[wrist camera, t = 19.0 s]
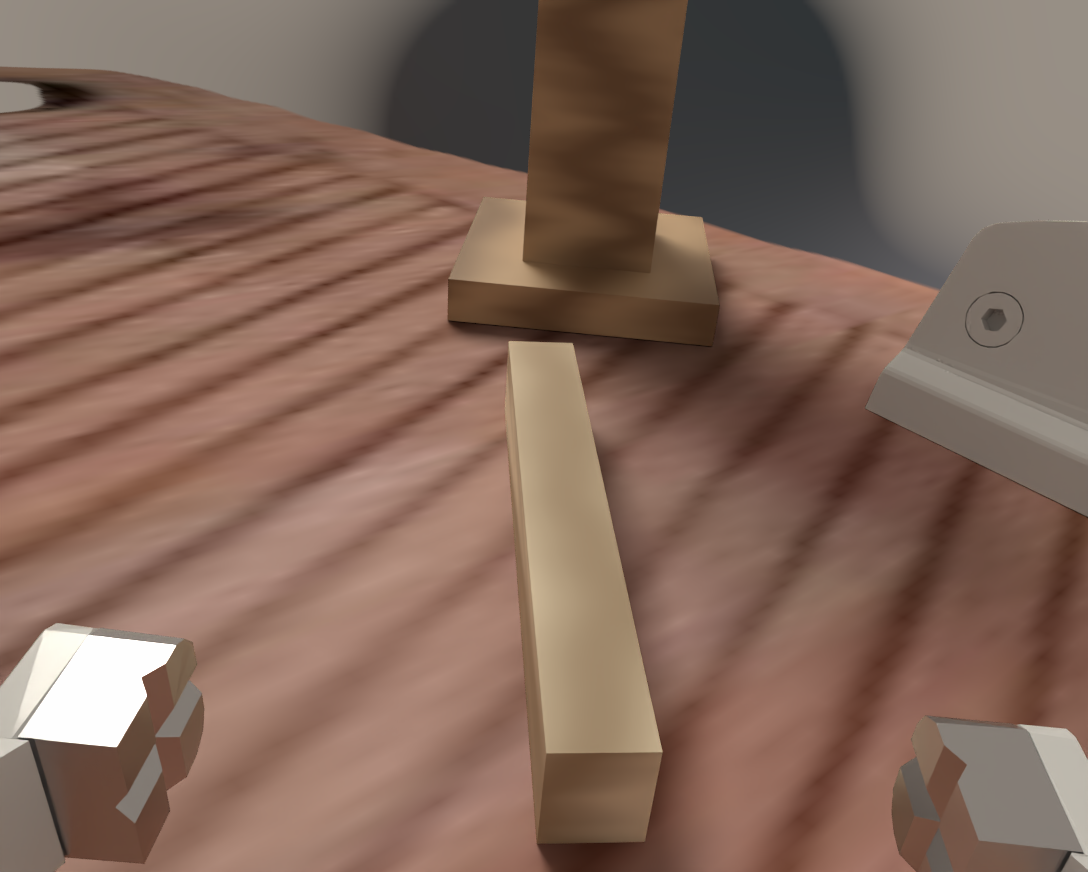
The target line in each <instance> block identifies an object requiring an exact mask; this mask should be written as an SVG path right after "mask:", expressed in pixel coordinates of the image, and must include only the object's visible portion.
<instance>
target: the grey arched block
mask: <svg viewBox="0 0 1088 872" xmlns="http://www.w3.org/2000/svg"><path fill="white" fill-rule="evenodd" d="M865 409H867V410H869V411H871V412H873V413H875V414H878V415H880V416H882V417H884V418H886V419H888V420H890V421H892V422H894V423H896V424H898V425H900V426H902V427H904V428H906V429H908V430H910V431H912V432H914V433H916V434H919V435H921V436H923V437H925V438H927V439H929V440H931V441H933V442H935V443H937V444H939V445H941V446H943V447H945V448H947V449H949V450H951V451H953V452H955V453H958V454H960V455H962V456H964V457H966V458H968V459H970V460H972V461H974V462H976V463H978V464H980V465H982V466H984V467H986V468H988V469H990V470H992V471H994V472H996V473H999V474H1001V475H1003V476H1005V477H1007V478H1009V479H1011V480H1013V481H1015V482H1017V483H1019V484H1021V485H1023V486H1025V487H1027V488H1029V489H1031V490H1033V491H1035V492H1037V493H1040V494H1042V495H1044V496H1046V497H1048V498H1050V499H1052V500H1054V501H1056V502H1058V503H1060V504H1062V505H1064V506H1066V507H1068V508H1070V509H1072V510H1074V511H1076V512H1079V513H1081V514H1083V515H1085V516H1087V517H1088V221H1053V220H1048V221H1023V222H1003V223H996V224H992V225H990V226H988V227H985V228H984V229H982V230H981V231H980V232H979V233H978V234H976V235H975V236H974V238H973V239H972V241H971V242H970V244H969V245H968V247H967V249H966V250H965V252H964V253H963V255H962V257H961V258H960V260H959V261H958V263H957V265H956V266H955V268H954V269H953V271H952V272H951V274H950V276H949V277H948V279H947V280H946V282H945V284H944V285H943V287H942V288H941V290H940V292H939V293H938V295H937V296H936V298H935V299H934V301H933V303H932V304H931V306H930V307H929V309H928V311H927V312H926V314H925V315H924V317H923V319H922V320H921V322H920V323H919V325H918V327H917V328H916V330H915V331H914V333H913V334H912V336H911V338H910V339H909V341H908V342H907V344H906V346H905V347H904V348H903V350H902V351H901V352H900V353H899V354H898V355H897V356H896V357H895V358H894V359H893V360H892V361H891V362H890V363H889V364H888V365H887V366H886V367H885V368H884V370H883V371H882V373H881V374H880V376H879V378H878V381H877V383H876V385H875V387H874V389H873V391H872V394H871V396H870V398H869V400H868V402H867V405H866V407H865Z"/></svg>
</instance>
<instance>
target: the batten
mask: <svg viewBox="0 0 1088 872" xmlns="http://www.w3.org/2000/svg"><path fill="white" fill-rule="evenodd" d="M505 419H506V433H507V447H508V460H509V474H510V487H511V501H512V514H513V528H514V542H515V555H516V569H517V582H518V596H519V609H520V623H521V637H522V650H523V664H524V677H525V691H526V704H527V718H528V732H529V745H530V759H531V772H532V786H533V799H534V813H535V827H536V840H537V844H557V843H611V842H645V839H646V833H647V828H648V823H649V818H650V813H651V808H652V803H653V798H654V793H655V788H656V783H657V778H658V773H659V768H660V763H661V758H662V753H663V752H662V747H661V743H660V738H659V734H658V729H657V724H656V720H655V715H654V711H653V706H652V702H651V697H650V693H649V688H648V683H647V679H646V674H645V670H644V665H643V661H642V656H641V652H640V647H639V642H638V638H637V633H636V629H635V624H634V620H633V615H632V611H631V606H630V602H629V597H628V592H627V588H626V583H625V579H624V574H623V570H622V565H621V561H620V556H619V551H618V547H617V542H616V538H615V533H614V529H613V524H612V520H611V515H610V510H609V506H608V501H607V497H606V492H605V488H604V483H603V479H602V474H601V469H600V465H599V460H598V456H597V451H596V447H595V442H594V438H593V433H592V428H591V424H590V419H589V415H588V410H587V406H586V401H585V397H584V392H583V388H582V383H581V378H580V374H579V369H578V365H577V360H576V356H575V351H574V347H573V343H553V342H522V341H509V342H508V360H507V378H506V395H505Z"/></svg>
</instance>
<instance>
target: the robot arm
mask: <svg viewBox="0 0 1088 872" xmlns="http://www.w3.org/2000/svg"><path fill="white" fill-rule="evenodd" d="M196 665H197V661H196V656H195V652H194V647H193V643H192V642H190V641H188V640H186V639H182V638H174V637H167V636H159V635H151V634H143V633H136V632H128V631H120V630H113V629H105V628H99V629H98V628H90V627H83V626H75V625H68V624H60V623H56V624H54V625H53V626H51V627H49V628H47V629H46V630H44V631H43V632H42V633H41V634H40V636H39V637H38V638H37V640H36V641H35V642H34V643H33V645H32V646H31V647H30V649H29V650H28V651H27V653H26V654H25V655H24V656H23V658H22V659H21V660H20V662H19V663H18V664H17V666H16V667H15V668H14V669H13V671H12V672H11V673H10V675H9V676H8V677H7V679H6V680H5V681H4V682H3V684H2V685H1V686H0V872H54V871H55V870H57V869H58V868H59V867H60V866H61V865H63V864H64V863H65V857H67V858H79V859H91V860H103V861H115V862H127V863H139V864H144V863H145V861H146V859H147V857H148V855H149V853H150V851H151V849H152V847H153V845H154V843H155V841H156V839H157V837H158V835H159V833H160V831H161V829H162V827H163V825H164V823H165V820H166V818H167V816H168V814H169V812H170V807H169V802H168V797H167V790H168V789H170V788H171V787H173V786H174V785H176V784H177V783H178V782H180V781H181V780H183V779H184V778H186V777H187V775H188V773H189V771H190V768H191V766H192V764H193V762H194V760H195V757H196V755H197V752H198V748H199V744H200V740H201V736H202V732H203V725H204V704H203V698H202V693H201V692H200V691H199V690H198V689H197V688H196V687H195V686H194V685H193V684H192V683H191V682H190V681H189V679H190V677H191V675H192V673H193V671H194V669H195V667H196ZM911 741H912V744H913V747H914V751H915V754H916V757H915V758H914V759H912V760H911V761H909V762H908V763H906V764H904V765H903V766H901V767H900V770H899V773H898V776H897V779H896V782H895V785H894V788H893V799H892V821H893V830H894V835H895V839H896V843H897V847H898V851H899V854H900V855H901V856H902V857H903V859H904V860H905V861H906V862H907V863H908V864H909V865H910V866H911V867H912V868H913V869H914V870H915V871H916V872H1088V760H1087V758H1086V756H1085V754H1084V752H1083V750H1082V748H1081V746H1080V744H1079V742H1078V740H1077V739H1076V737H1075V736H1074V735H1073V734H1072V733H1071V732H1069V731H1068V730H1067V729H1063V728H1052V727H1042V726H1031V725H1021V724H1019V725H1014V724H1010V723H1000V722H989V721H978V720H968V719H957V718H947V717H936V716H924V717H923V718H922V719H921V720H920V721H919V722H918V723H917V726H916V728H915V731H914V733H913V736H912V738H911Z"/></svg>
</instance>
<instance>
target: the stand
mask: <svg viewBox="0 0 1088 872" xmlns="http://www.w3.org/2000/svg"><path fill="white" fill-rule="evenodd" d="M687 1H688V0H539V5H538V21H537V37H536V53H535V70H534V86H533V100H532V117H531V133H530V149H529V165H528V180H527V195H526V201H523V200H512V199H501V198H491V197H483V200H482V202H481V204H480V207H479V209H478V211H477V214H476V216H475V218H474V221H473V223H472V225H471V228H470V230H469V232H468V235H467V237H466V239H465V242H464V244H463V246H462V249H461V251H460V253H459V256H458V258H457V260H456V263H455V265H454V267H453V270H452V272H451V274H450V277H449V279H448V320H450V321H460V322H471V323H481V324H491V325H501V326H511V327H522V328H532V329H542V330H552V331H562V332H573V333H583V334H593V335H603V336H613V337H624V338H634V339H644V340H654V341H664V342H675V343H685V344H695V345H705V346H712V345H713V339H714V334H715V328H716V323H717V317H718V312H719V306H720V304H719V299H718V294H717V289H716V284H715V279H714V274H713V269H712V264H711V259H710V254H709V249H708V244H707V240H706V235H705V230H704V225H703V220H702V217H692V216H682V215H671V214H661V213H659V206H660V198H661V191H662V184H663V176H664V169H665V162H666V155H667V148H668V140H669V133H670V126H671V118H672V111H673V104H674V97H675V89H676V82H677V74H678V67H679V60H680V53H681V46H682V38H683V31H684V24H685V16H686V9H687Z"/></svg>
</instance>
